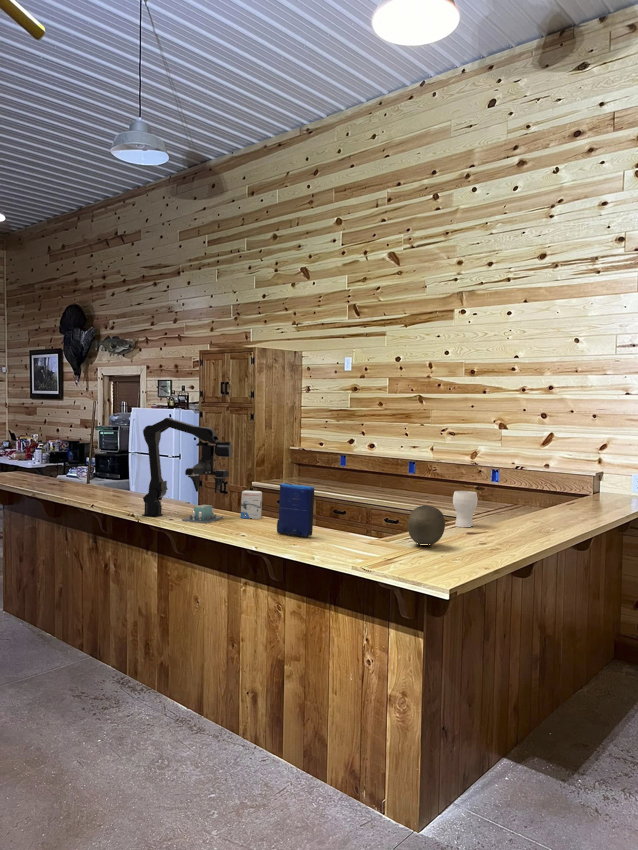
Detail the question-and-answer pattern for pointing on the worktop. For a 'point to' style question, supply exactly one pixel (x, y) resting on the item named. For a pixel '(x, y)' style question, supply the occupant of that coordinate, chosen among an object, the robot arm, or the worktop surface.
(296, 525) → the book
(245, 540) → the worktop surface
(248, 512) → the ink box
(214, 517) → the metal plate device
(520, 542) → the worktop surface
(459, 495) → the cup
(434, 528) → the dark grey sphere
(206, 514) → the block
